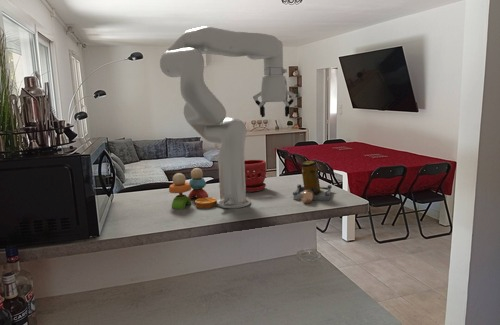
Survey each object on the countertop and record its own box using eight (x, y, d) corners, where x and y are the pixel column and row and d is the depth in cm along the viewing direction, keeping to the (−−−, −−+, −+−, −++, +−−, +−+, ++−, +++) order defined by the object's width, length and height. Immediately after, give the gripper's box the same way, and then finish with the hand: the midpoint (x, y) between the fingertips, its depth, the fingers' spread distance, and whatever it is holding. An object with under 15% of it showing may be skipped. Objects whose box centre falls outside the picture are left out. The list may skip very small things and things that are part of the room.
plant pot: (268, 185, 168) (267, 158, 166) (265, 193, 155) (264, 164, 153) (238, 185, 170) (237, 158, 167) (233, 193, 157) (231, 164, 155)
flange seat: (328, 204, 136) (328, 193, 135) (290, 203, 140) (290, 192, 139) (331, 191, 153) (331, 181, 153) (297, 190, 157) (297, 181, 156)
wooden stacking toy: (212, 210, 135) (210, 175, 133) (166, 209, 139) (164, 175, 137) (226, 196, 152) (224, 165, 150) (185, 196, 156) (183, 165, 154)
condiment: (311, 187, 154) (307, 158, 151) (328, 190, 148) (324, 160, 144) (299, 193, 150) (295, 164, 146) (316, 197, 143) (312, 167, 140)
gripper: (296, 72, 152) (297, 115, 155) (254, 74, 157) (256, 116, 160) (294, 71, 145) (294, 116, 148) (250, 73, 150) (251, 117, 153)
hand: (274, 116), depth 154 cm, fingers open, 9 cm apart
